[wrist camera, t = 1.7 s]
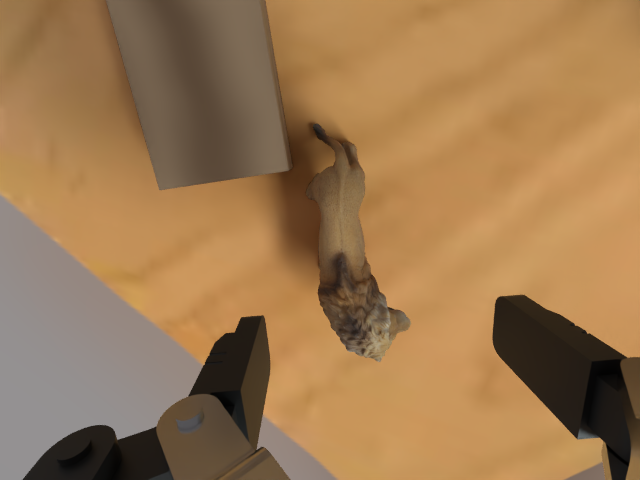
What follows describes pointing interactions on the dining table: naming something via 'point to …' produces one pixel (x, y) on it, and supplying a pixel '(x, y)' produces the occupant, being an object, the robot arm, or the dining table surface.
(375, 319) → the lion figurine
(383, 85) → the dining table surface
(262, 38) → the taupe rectangular block
